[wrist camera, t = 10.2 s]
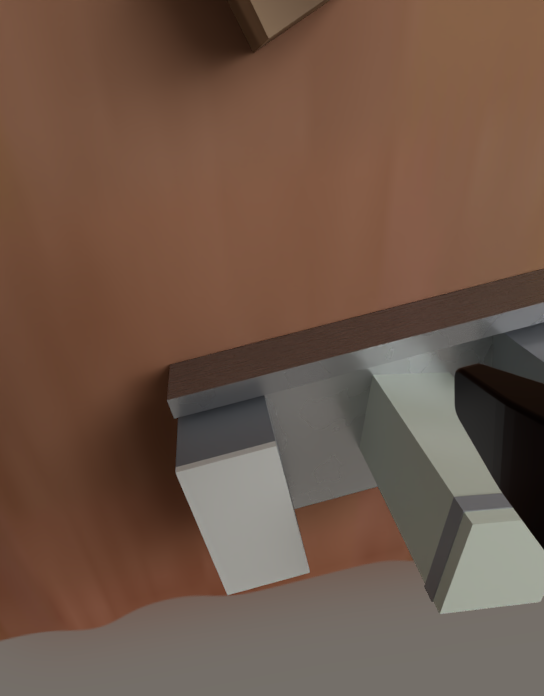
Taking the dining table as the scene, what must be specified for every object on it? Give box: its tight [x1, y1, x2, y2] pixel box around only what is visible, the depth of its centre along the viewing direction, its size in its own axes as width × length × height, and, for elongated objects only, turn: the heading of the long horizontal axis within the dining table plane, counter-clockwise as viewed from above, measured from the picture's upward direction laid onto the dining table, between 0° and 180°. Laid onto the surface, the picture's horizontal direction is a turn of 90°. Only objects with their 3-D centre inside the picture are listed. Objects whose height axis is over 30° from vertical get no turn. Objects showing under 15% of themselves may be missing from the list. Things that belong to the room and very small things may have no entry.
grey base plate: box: [167, 269, 544, 509], centre depth 23 cm, size 19×10×3 cm, turn 102°
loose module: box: [359, 372, 544, 614], centre depth 19 cm, size 4×5×9 cm
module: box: [175, 395, 310, 595], centre depth 21 cm, size 4×8×4 cm, turn 12°
